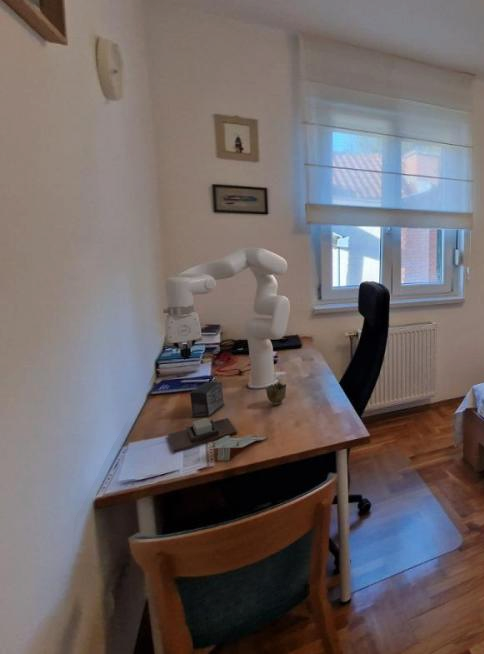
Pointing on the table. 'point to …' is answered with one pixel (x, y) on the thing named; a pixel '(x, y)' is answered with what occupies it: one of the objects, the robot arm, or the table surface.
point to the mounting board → (189, 439)
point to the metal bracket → (231, 445)
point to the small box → (206, 399)
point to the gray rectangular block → (202, 426)
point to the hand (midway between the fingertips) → (186, 358)
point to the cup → (276, 393)
